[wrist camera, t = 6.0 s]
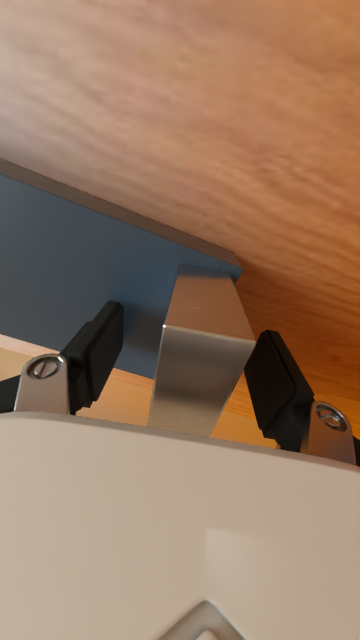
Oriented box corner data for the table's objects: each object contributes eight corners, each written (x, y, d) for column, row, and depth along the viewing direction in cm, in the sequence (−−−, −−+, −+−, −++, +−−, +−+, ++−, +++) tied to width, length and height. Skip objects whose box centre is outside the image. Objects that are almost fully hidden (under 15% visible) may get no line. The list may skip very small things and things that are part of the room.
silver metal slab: (178, 262, 9) (160, 330, 5) (230, 272, 9) (261, 349, 5) (158, 378, 13) (139, 470, 9) (193, 384, 13) (191, 479, 9)
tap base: (234, 252, 11) (244, 269, 9) (181, 357, 16) (178, 387, 14) (-116, 111, 9) (-234, 80, 7) (-58, 281, 14) (-114, 300, 11)
